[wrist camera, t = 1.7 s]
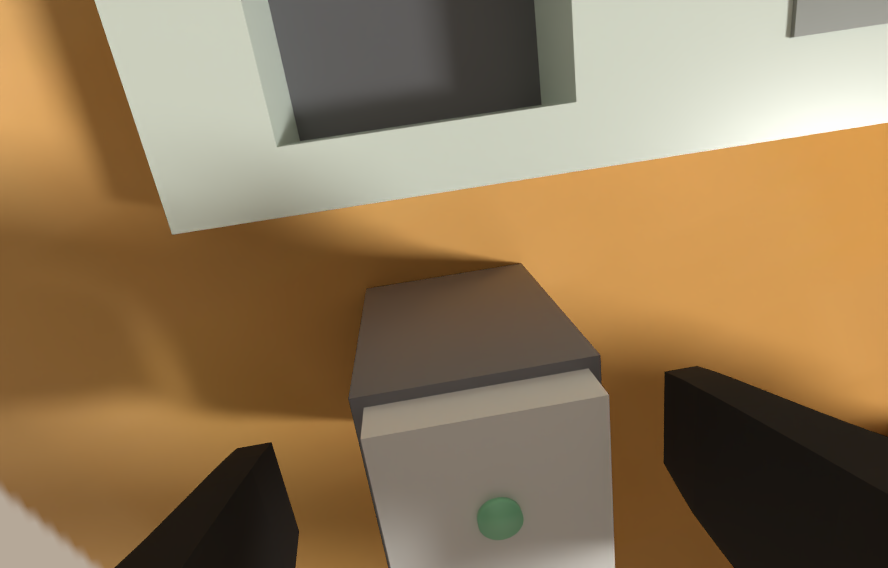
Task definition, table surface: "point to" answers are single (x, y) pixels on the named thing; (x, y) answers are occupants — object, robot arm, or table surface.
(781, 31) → the power strip
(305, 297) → the table surface
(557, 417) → the plug
